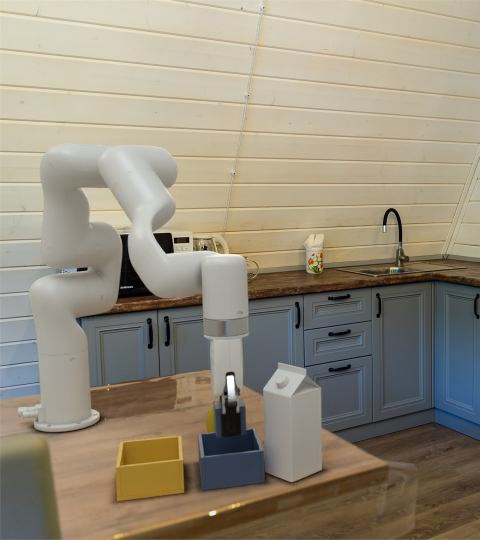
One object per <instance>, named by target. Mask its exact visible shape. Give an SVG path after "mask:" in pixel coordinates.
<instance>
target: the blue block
mask: <svg viewBox="0 0 480 540" xmlns="http://www.w3.org/2000/svg"><path fill="white" fill-rule="evenodd" d="M226 401H228V400H225V403H226ZM212 404H213V406H214V428H215V434H216V438H219V437H222V431H221V414H222V400H213V403H212ZM239 412H241V435H246V429H247V411H246V404H245V401H244V398H242V397H241V398H239Z"/></svg>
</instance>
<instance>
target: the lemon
mask: <svg viewBox="0 0 480 540" xmlns="http://www.w3.org/2000/svg"><path fill="white" fill-rule="evenodd" d="M205 428H206V431H207V432H206V433H210V432H215V428H214V405H213V406H212V407H211V408H209V410H208V411H207V414H206V417H205Z"/></svg>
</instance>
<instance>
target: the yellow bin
mask: <svg viewBox="0 0 480 540" xmlns="http://www.w3.org/2000/svg"><path fill="white" fill-rule="evenodd" d="M182 438H183V437H182V435H171V436H162V437H153V438H151V437H150V438H143V439H133V440H123V441H120V442H119V446H118V450H117V451H118V452H117V458H116V464H115V485H116V500H117V502H122V501H129V500H137V499H146V498H155V497H161V496H170V495H177V494H184V493H185V477H184V476H185V475H184V452H183V439H182Z"/></svg>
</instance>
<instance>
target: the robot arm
mask: <svg viewBox="0 0 480 540" xmlns="http://www.w3.org/2000/svg"><path fill="white" fill-rule="evenodd" d="M39 177H40V184H41V189H42V194H43V210H42V224H41V236H40V237H41V240H40V255H41V259H42V262H43V263H44V265H46V266H47V267H49V268H51V269H55V270H71V269H72V270H73V269H80V268H81V269H83V268H87V270H84V271H83V270H81V271H70V272H62V273H53V274H48V275H45V276H42V277H39V278H38V279H35V281H34V282H33V283H32V284H31V286H30V287H29V290H28V302H29V307H30V310H31V314H32V318H33V322H34V326H35V335H36V347H37V349H36V350H37V358H38V359H37V361H38V375H39V376H38V377H39V391H40V393H39V395H40V403H37V404H35V405H34V406H19V407H18V408H17V415H18V418H20V417H21V418H22V419H30V418H34V421H33V427H34V429H35V430H37V431H39V432H45V433H59V432H60V433H62V432H69V431H70V432H71V431H76V430H81V429H84V428H87V427H90V426H93V425H94V424H96V423H98V422H99V421H100V419H101V418H100V417H101V415H100V412H99V411H97V410H96V409H92V398H91V397H92V395H91V380H90V379H91V377H90V360H89V342H88V341H89V340H88V336H87V334H86V332H85V331H84V329H83V328H82V327H81V326H80V325H79V324H78V322H77V320H76V319H78V318H81V317H88V316H94V315H100V314H103V313H107V312H109V311H110V310H112V309H113V308H114V307H115V305H116V304H117V301H118V296H119V290H120V282H121V281H120V280H121V272H122V271H121V269H122V260H123V242H122V238H121V234H120V232H119V231H118V229H117V228H116V226H114V225H113V224H112V223H110V222H108V221H104V220H103V221H102V220H92V221H91V220H90V215H91V201H90V198H89V197H88V194H87V192H86V191H85V190H84V189H85V188H86V189H89V188H90V189H109V190H110V192H111V194H112V195H113V197H114V198H115V200H116V201H117V203H118V204H119V206H120V208H121V209H122V211H123V212H124V214H125V215H126V217H127V218H128V219H129V222H130V223H131V225H130V228H129V231H128V234H127V249H128V250H127V251H128V256H129V257H128V258H129V260H130V263H131V266H132V267H133V269H134V271H135V273H136V274H137V275H138V277H139V279H140V280H141V282H142V283H143V284H144V286H145V287H146V289H147V290H148V291H149V292H150V293H152V294H153V295H154V296H156V297H158V298H161V299H175V298H181V297H186V296H187V297H188V296H195V295H202V323H203V325H202V326H203V338H204V339H207V340H209V365H210V367H209V368H210V370H209V371H210V389H211V393H212V396H213V398H215V399H219V400H218V401H220V400H222V414H221V431H222V437H232V436H240V435H241V412H239V399H240V397H241V396H242V395H243V393H244V344H243V343H244V342H243V338H246V337H248V336H250V316H249V290H248V289H249V285H248V284H249V283H248V282H249V281H248V262H247V260H246V258H245V257H244V256H243V255H241V254H236V253H219V252H216V251H212V250H195V251H183V252H171V253H166V252H165V251H164V249H162V247H161V245H160V244H159V242H158V241H157V239H156V237H155V235H154V232H156V231H158V230H159V229H161V228H162V227H163V226H165V225H166V224H167V223H168V222H169V221H170V220H171V219H172V218H173V216H174V215H175V214H176V213H175V212H176V211H177V210H176V209H177V204H176V200H175V198H173V196H172V194H171V193H170V192H169V190H168V189H170V188H172V186H173V185H174V184H175V183H176V181H177V178H178V165H177V162H176V159H175V158H174V156H173V155H172V154H171V153H170V152H169V151H168V150H167V149H165V148H164V147H161V146H157V145H140V144H117V145H113V144H99V143H79V142H78V143H77V142H75V143H74V142H70V143H68V142H67V143H58V144H55V145H52V146H51V147H49V148H48V149H47V150H46V151H45V152H44V154H43V155H42V158H41V160H40V164H39ZM218 397H219V398H218ZM225 400H228V401H226V403H225Z"/></svg>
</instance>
